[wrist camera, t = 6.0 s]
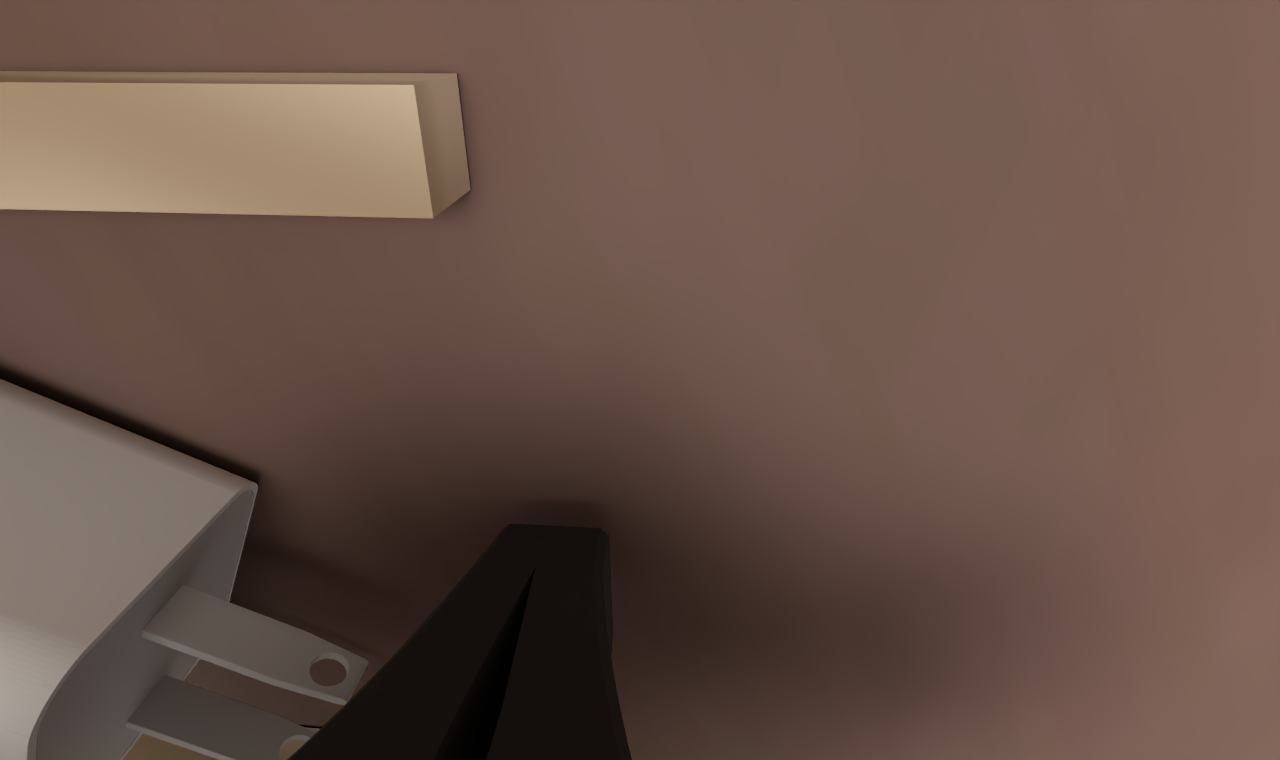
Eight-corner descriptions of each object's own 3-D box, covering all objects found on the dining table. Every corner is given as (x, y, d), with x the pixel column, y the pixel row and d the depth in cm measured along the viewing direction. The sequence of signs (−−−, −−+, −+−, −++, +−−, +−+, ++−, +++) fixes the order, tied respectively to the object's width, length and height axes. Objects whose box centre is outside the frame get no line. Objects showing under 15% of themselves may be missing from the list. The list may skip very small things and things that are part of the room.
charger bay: (541, 785, 13) (526, 853, 12) (-5, 739, 14) (-63, 798, 13) (456, 73, 7) (413, 84, 6) (-479, 68, 8) (-657, 77, 7)
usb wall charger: (-42, 335, 9) (-485, 530, 6) (433, 531, 10) (293, 799, 7) (-37, 532, 11) (-372, 770, 8) (367, 683, 12) (230, 954, 9)
